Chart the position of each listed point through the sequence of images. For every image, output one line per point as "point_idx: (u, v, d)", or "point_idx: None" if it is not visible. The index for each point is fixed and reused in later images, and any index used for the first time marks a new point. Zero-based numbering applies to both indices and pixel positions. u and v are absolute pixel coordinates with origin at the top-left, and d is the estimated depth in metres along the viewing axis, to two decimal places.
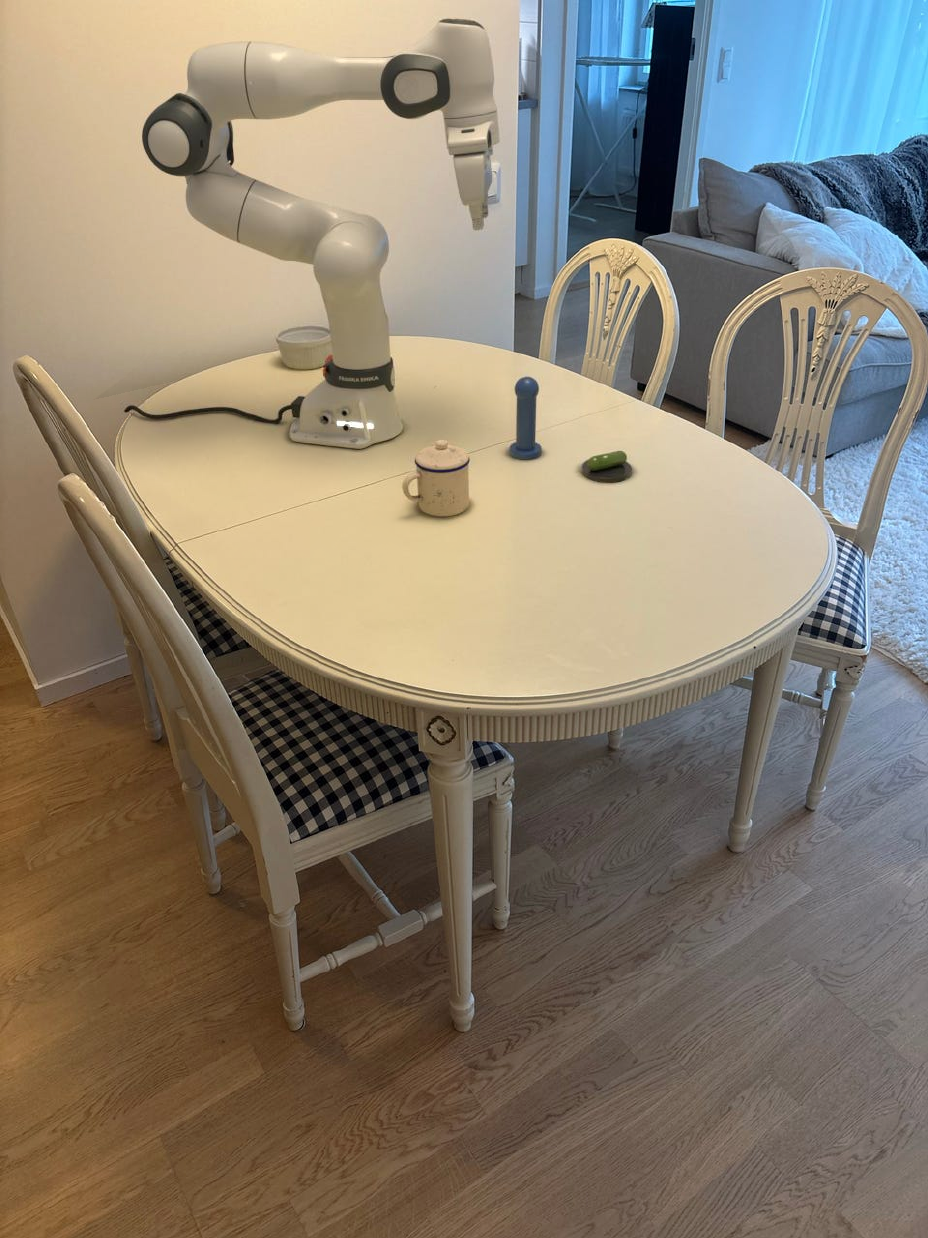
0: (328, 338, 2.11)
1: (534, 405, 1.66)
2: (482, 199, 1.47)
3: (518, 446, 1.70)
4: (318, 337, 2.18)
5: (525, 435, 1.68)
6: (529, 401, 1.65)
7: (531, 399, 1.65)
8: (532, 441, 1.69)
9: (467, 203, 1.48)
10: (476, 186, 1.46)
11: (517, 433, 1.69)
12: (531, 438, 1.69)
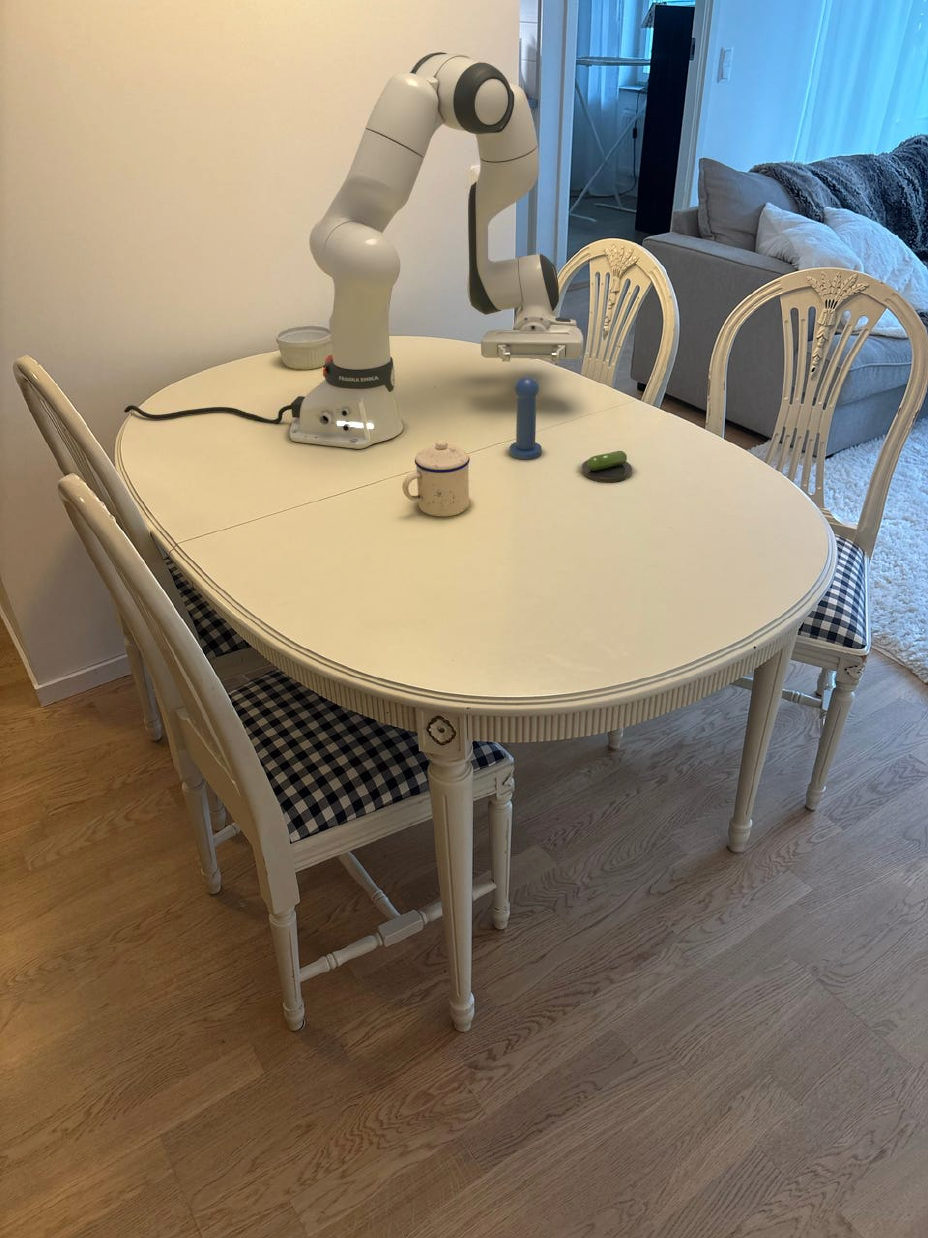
0: (328, 338, 2.11)
1: (534, 405, 1.66)
2: (580, 357, 1.79)
3: (518, 446, 1.70)
4: (318, 337, 2.18)
5: (525, 435, 1.68)
6: (529, 401, 1.65)
7: (531, 399, 1.65)
8: (532, 441, 1.69)
9: (581, 345, 1.78)
10: None
11: (517, 433, 1.69)
12: (531, 438, 1.69)
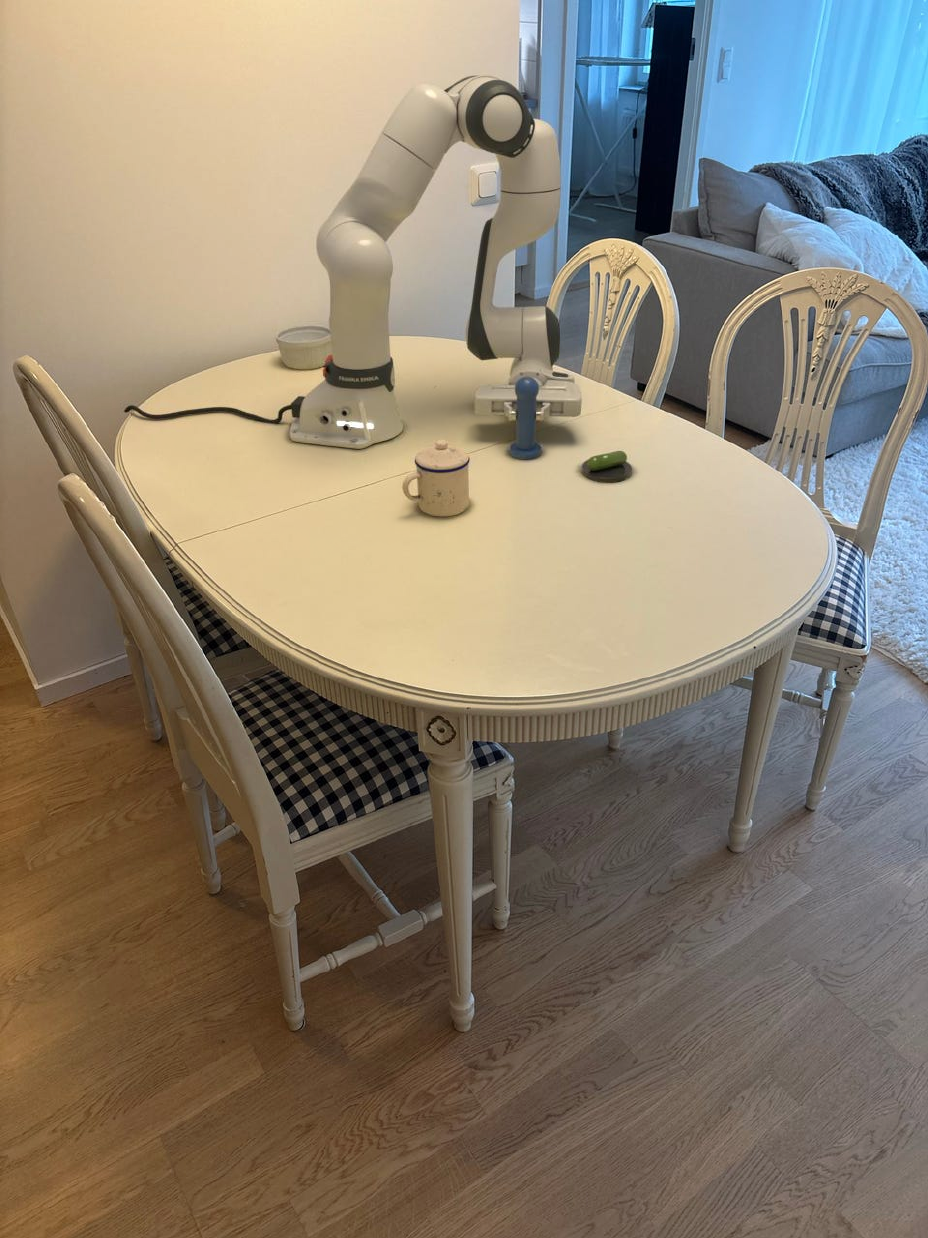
0: (328, 338, 2.11)
1: (534, 405, 1.66)
2: (578, 415, 1.72)
3: (518, 446, 1.70)
4: (318, 337, 2.18)
5: (525, 435, 1.68)
6: (529, 401, 1.65)
7: (531, 399, 1.65)
8: (532, 441, 1.69)
9: (579, 403, 1.70)
10: None
11: (517, 433, 1.69)
12: (531, 438, 1.69)
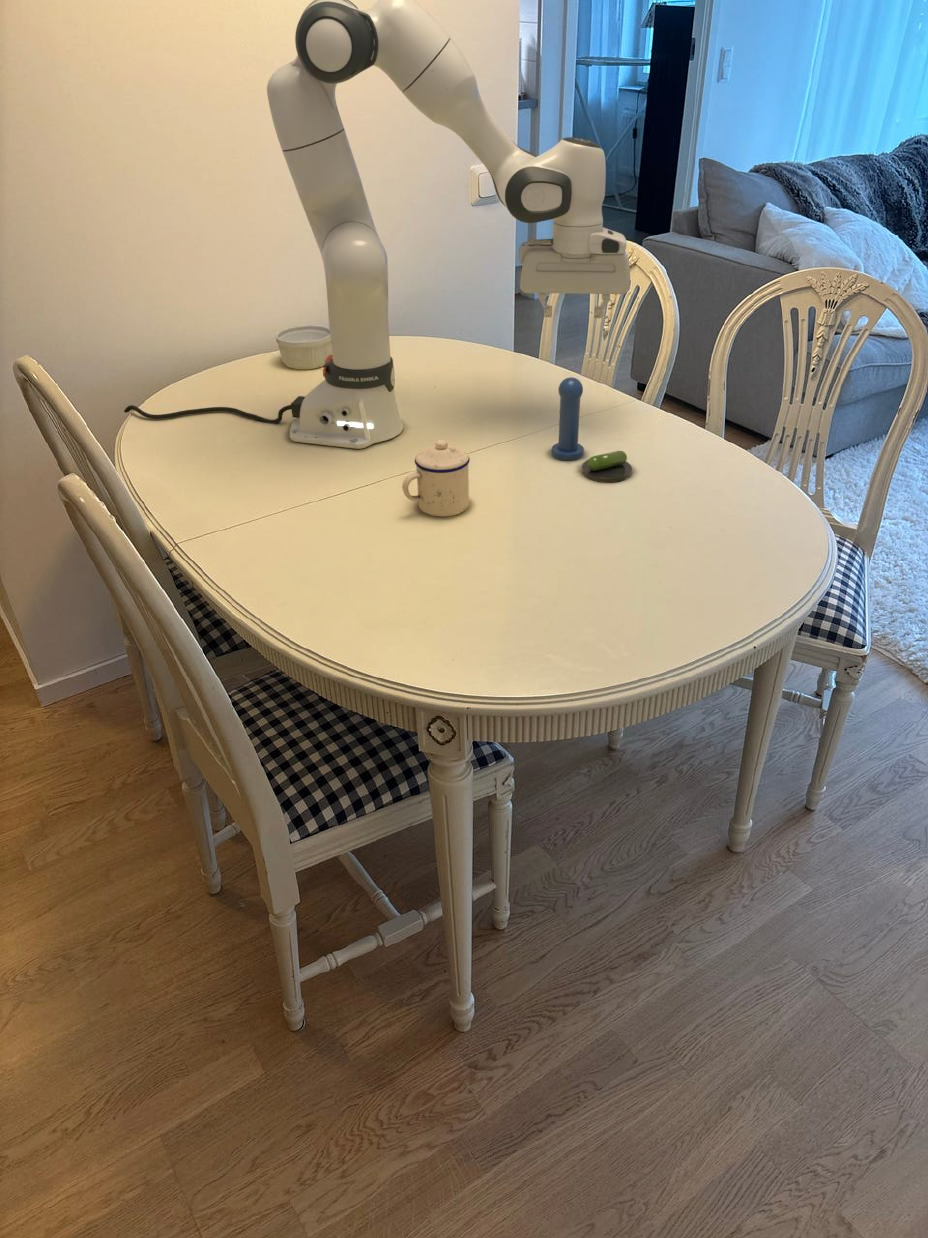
0: (328, 338, 2.10)
1: (578, 406, 1.65)
2: None
3: (560, 447, 1.70)
4: (318, 337, 2.18)
5: (568, 436, 1.68)
6: (573, 402, 1.64)
7: (575, 400, 1.64)
8: (575, 442, 1.69)
9: (627, 291, 1.67)
10: None
11: (560, 434, 1.68)
12: (574, 439, 1.68)
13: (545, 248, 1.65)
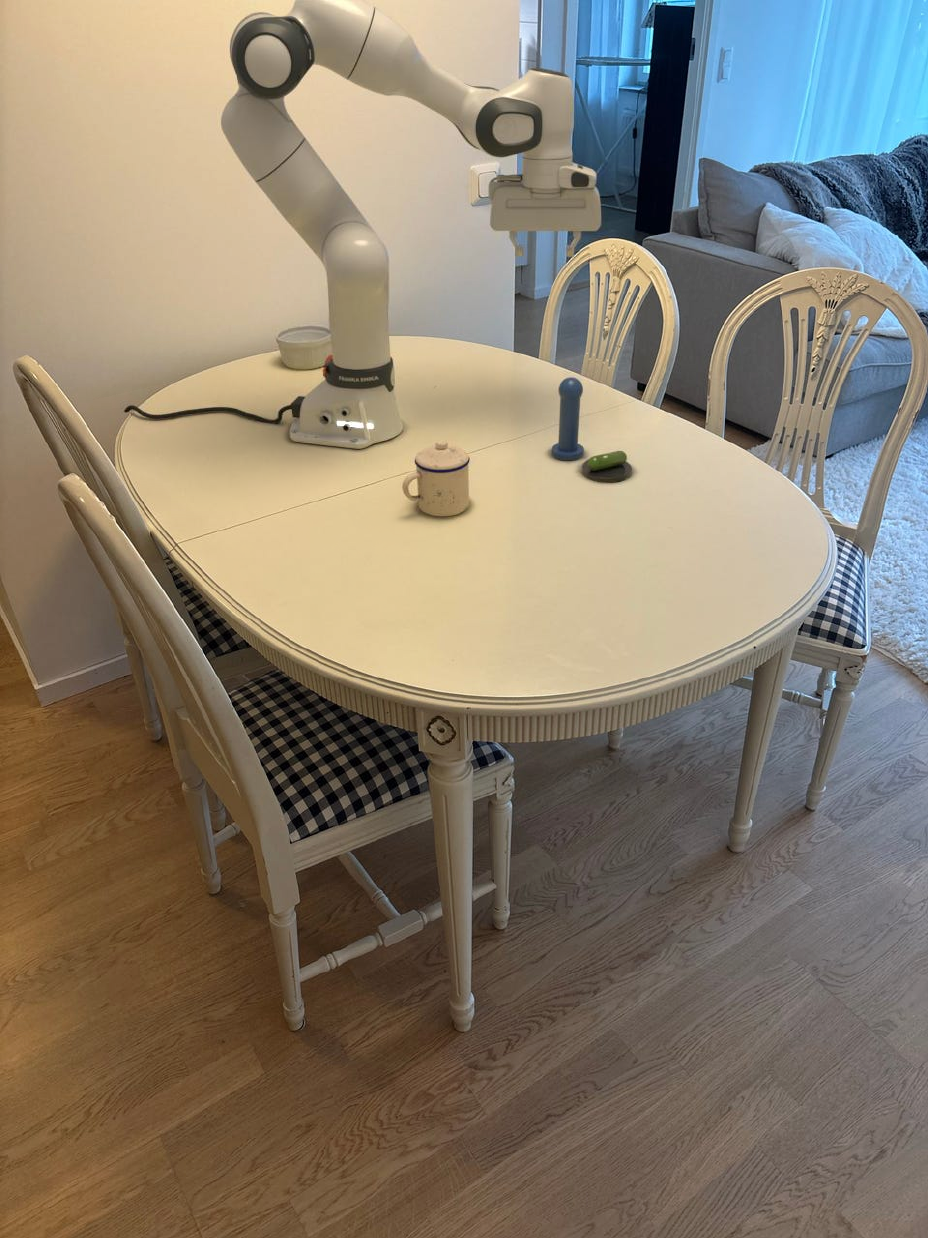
0: (328, 338, 2.11)
1: (578, 406, 1.65)
2: None
3: (560, 447, 1.70)
4: (318, 337, 2.18)
5: (568, 436, 1.68)
6: (573, 402, 1.64)
7: (575, 400, 1.64)
8: (575, 442, 1.69)
9: (598, 228, 1.65)
10: None
11: (560, 434, 1.68)
12: (574, 439, 1.68)
13: (515, 184, 1.63)
